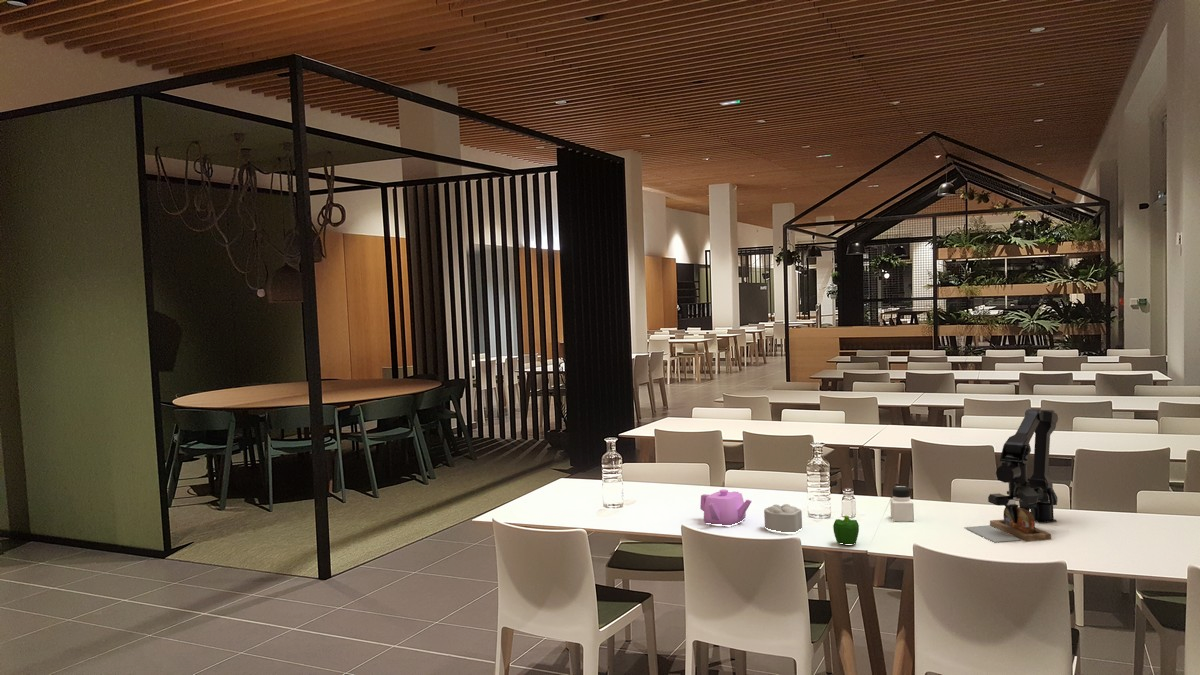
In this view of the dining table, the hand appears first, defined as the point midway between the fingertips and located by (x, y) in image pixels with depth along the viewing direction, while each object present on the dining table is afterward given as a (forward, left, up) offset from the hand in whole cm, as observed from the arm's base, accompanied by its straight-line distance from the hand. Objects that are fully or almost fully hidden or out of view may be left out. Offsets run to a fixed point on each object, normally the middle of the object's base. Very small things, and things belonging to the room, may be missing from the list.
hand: (1019, 523), depth 288 cm
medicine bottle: (+29, -27, -3) cm, 40 cm away
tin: (0, 0, -3) cm, 3 cm away
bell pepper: (+60, -2, -3) cm, 60 cm away
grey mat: (+10, 0, -3) cm, 10 cm away
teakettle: (+92, -41, -4) cm, 101 cm away
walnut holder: (0, 0, -3) cm, 3 cm away
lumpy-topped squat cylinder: (+75, -25, -4) cm, 79 cm away
